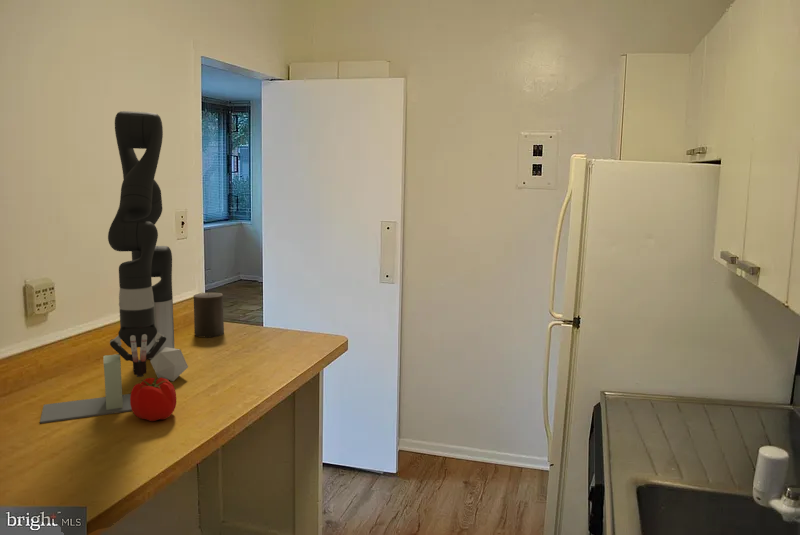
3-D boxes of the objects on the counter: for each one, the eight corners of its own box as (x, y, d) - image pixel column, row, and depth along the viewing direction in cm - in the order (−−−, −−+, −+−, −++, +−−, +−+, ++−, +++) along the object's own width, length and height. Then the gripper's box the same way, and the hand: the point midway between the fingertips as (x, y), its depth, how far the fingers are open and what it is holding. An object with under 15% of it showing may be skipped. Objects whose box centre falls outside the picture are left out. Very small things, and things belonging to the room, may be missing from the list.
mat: (43, 406, 147) (43, 404, 147) (135, 394, 156) (135, 393, 155) (40, 423, 137) (39, 421, 137) (138, 410, 146) (138, 408, 146)
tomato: (150, 430, 135) (149, 392, 133) (119, 419, 140) (117, 382, 139) (190, 415, 143) (189, 378, 142) (159, 405, 149) (158, 370, 148)
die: (195, 378, 170) (186, 345, 174) (181, 372, 162) (173, 337, 166) (165, 389, 170) (157, 356, 173) (150, 384, 161) (142, 348, 165)
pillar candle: (208, 339, 207) (207, 295, 205) (188, 334, 212) (186, 291, 210) (230, 333, 216) (229, 290, 213) (210, 329, 220) (209, 287, 218)
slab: (105, 399, 151) (103, 355, 149) (122, 397, 152) (119, 354, 151) (106, 409, 144) (103, 364, 143) (123, 407, 146) (120, 362, 144)
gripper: (164, 300, 154) (167, 368, 156) (105, 304, 148) (109, 374, 150) (168, 306, 147) (170, 377, 150) (106, 310, 141) (110, 384, 144)
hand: (139, 375), depth 150 cm, fingers closed
